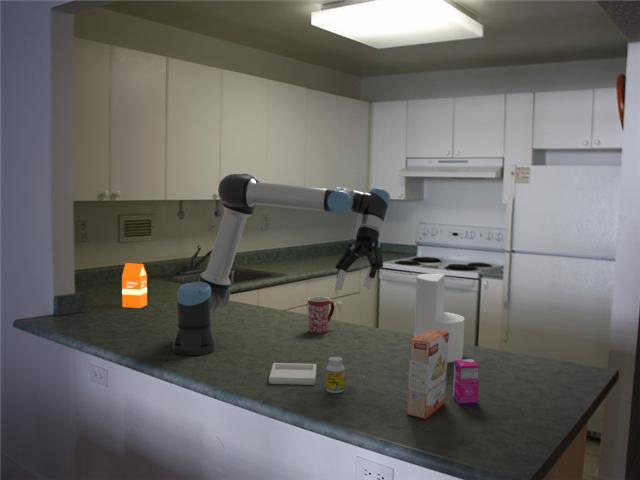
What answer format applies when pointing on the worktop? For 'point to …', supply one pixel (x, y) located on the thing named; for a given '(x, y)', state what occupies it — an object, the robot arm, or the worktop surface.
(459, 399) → the supplement box
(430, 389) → the cracker box
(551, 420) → the worktop surface
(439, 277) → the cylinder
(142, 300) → the orange juice
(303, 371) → the tray
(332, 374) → the supplement bottle
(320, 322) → the mug
